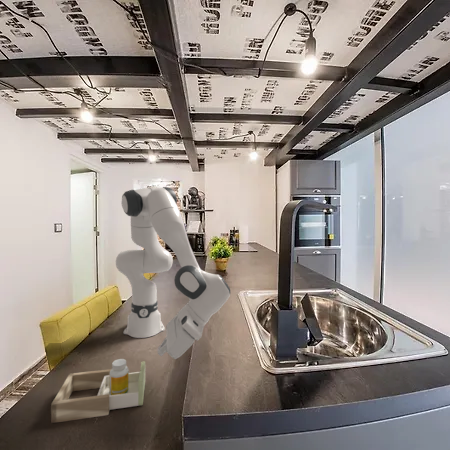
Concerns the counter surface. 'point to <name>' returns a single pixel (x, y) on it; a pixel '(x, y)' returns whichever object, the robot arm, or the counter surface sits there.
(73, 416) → the tray frame
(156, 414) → the counter surface
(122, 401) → the tray
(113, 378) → the supplement bottle
